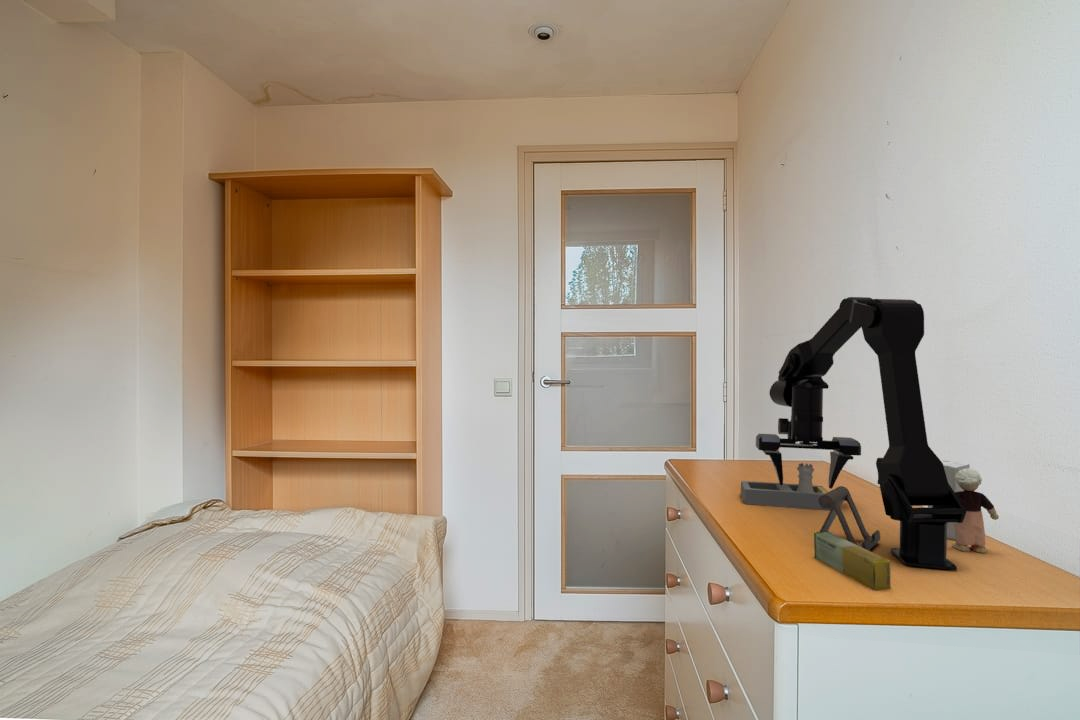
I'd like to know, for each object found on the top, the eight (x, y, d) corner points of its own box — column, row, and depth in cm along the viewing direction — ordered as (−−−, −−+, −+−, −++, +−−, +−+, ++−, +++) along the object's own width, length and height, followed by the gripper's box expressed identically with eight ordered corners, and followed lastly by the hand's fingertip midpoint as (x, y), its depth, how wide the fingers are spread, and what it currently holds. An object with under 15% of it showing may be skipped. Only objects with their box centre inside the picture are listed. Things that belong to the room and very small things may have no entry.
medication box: (812, 558, 84) (812, 531, 83) (828, 556, 84) (828, 530, 84) (874, 592, 72) (874, 561, 72) (892, 590, 72) (892, 559, 72)
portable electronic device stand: (865, 558, 83) (866, 502, 83) (809, 545, 89) (810, 492, 89) (880, 544, 90) (881, 492, 90) (827, 533, 95) (828, 484, 95)
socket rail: (831, 510, 109) (832, 495, 109) (744, 504, 113) (745, 489, 113) (821, 500, 117) (822, 485, 117) (740, 494, 121) (740, 480, 121)
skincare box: (955, 541, 92) (957, 467, 92) (925, 533, 95) (926, 462, 95) (971, 534, 95) (972, 463, 95) (941, 527, 99) (942, 459, 99)
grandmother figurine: (984, 546, 89) (985, 466, 89) (1001, 554, 86) (1003, 471, 85) (932, 543, 90) (934, 465, 90) (947, 552, 86) (949, 470, 86)
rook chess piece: (821, 506, 111) (821, 466, 111) (798, 506, 112) (799, 466, 112) (811, 501, 116) (811, 462, 116) (789, 500, 116) (789, 462, 116)
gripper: (846, 408, 119) (845, 481, 119) (753, 405, 124) (752, 475, 124) (862, 413, 108) (861, 493, 108) (759, 409, 113) (758, 486, 113)
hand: (805, 486), depth 114 cm, fingers open, 9 cm apart
